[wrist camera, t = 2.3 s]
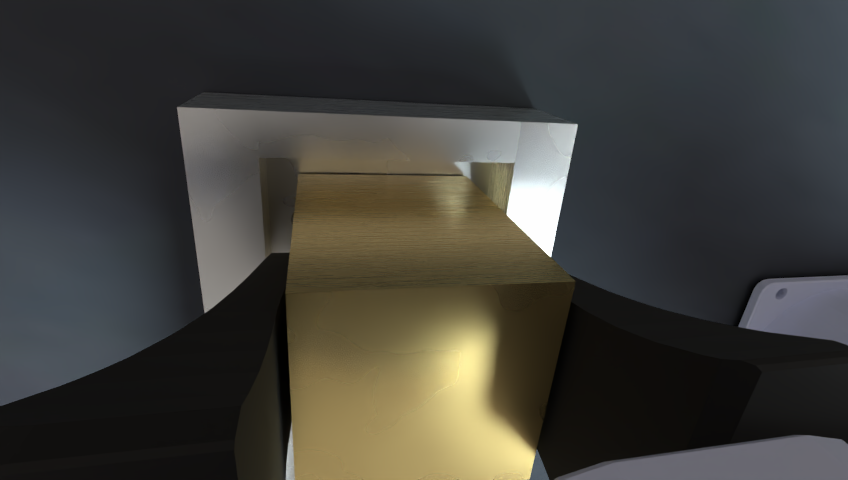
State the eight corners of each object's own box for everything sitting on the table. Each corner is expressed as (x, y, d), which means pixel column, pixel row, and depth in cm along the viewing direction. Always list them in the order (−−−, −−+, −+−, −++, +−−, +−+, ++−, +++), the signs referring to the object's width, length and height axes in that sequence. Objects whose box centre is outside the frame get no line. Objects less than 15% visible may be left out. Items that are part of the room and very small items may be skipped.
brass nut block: (466, 176, 13) (575, 281, 7) (450, 314, 15) (529, 478, 9) (298, 174, 12) (285, 292, 6) (303, 322, 14) (296, 512, 8)
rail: (535, 108, 14) (577, 123, 11) (452, 601, 23) (467, 661, 21) (203, 92, 12) (176, 107, 9) (263, 638, 21) (257, 710, 19)
